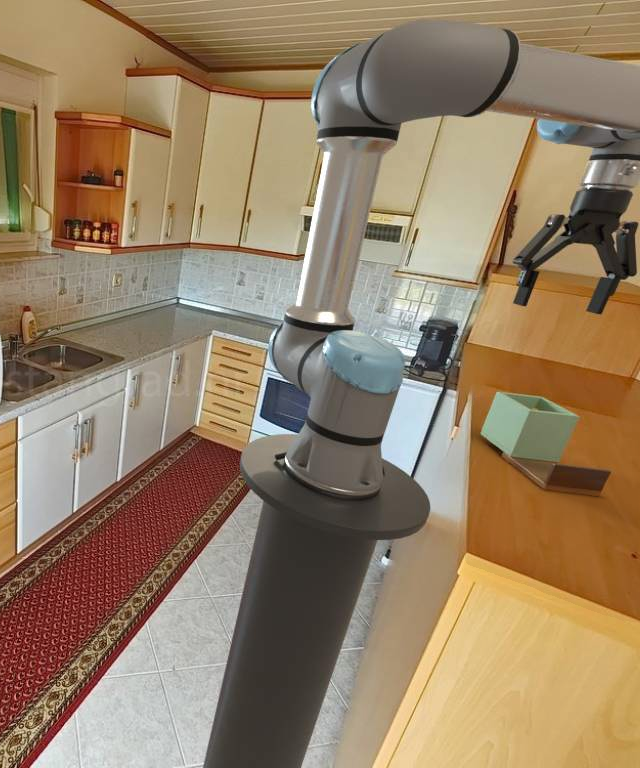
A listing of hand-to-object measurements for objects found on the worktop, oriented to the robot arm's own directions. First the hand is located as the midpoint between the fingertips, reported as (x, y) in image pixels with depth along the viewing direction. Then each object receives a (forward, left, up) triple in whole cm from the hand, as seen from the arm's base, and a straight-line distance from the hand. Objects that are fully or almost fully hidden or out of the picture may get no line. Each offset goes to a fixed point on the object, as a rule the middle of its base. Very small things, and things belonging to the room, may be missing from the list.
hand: (556, 309), depth 92 cm
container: (+2, -4, -28) cm, 28 cm away
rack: (+5, -12, -29) cm, 31 cm away
